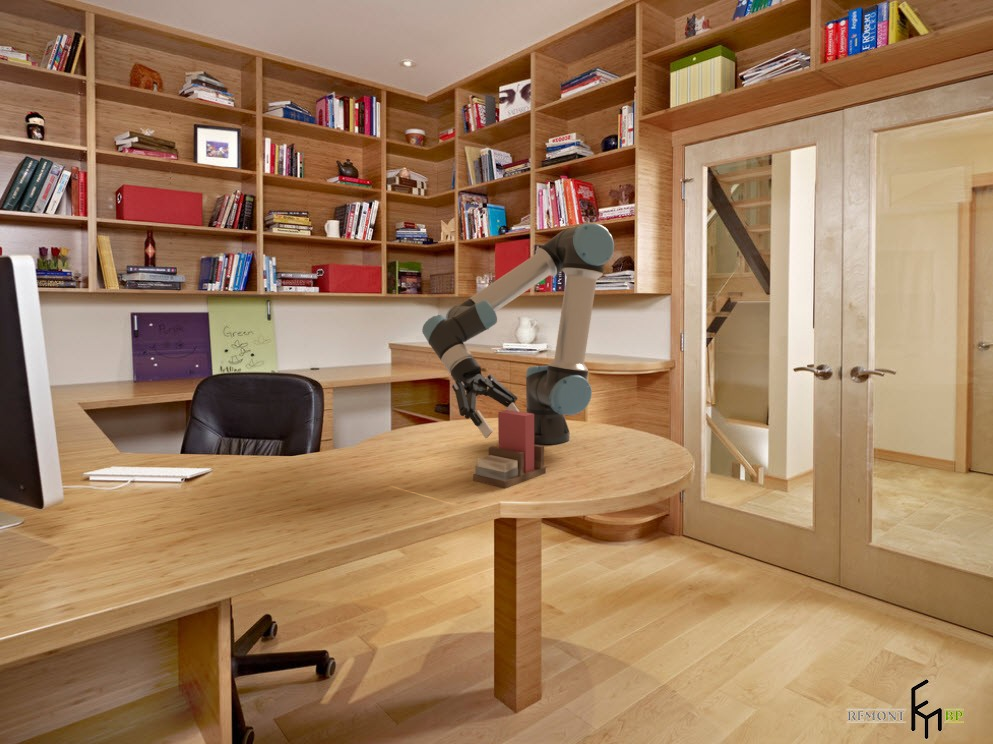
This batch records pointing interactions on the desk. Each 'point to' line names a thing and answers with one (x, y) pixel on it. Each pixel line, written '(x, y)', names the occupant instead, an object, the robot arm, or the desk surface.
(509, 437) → the book
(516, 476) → the book stand
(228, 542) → the desk surface
